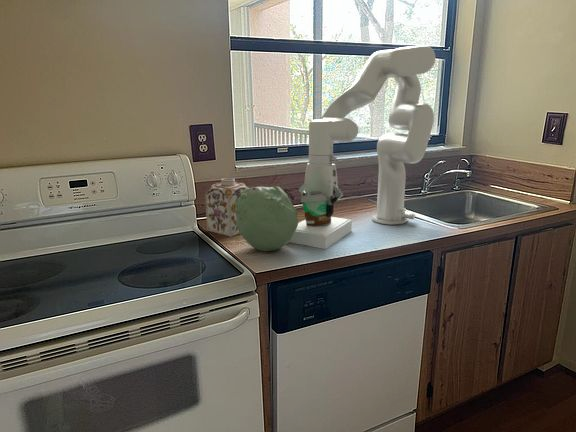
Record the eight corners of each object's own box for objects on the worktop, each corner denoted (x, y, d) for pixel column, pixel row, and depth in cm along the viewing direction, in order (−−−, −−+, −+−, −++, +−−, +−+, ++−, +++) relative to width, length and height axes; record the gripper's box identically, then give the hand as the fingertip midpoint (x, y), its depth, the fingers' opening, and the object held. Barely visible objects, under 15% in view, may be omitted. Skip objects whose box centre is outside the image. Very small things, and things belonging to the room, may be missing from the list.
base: (351, 231, 154) (351, 219, 153) (325, 248, 138) (325, 235, 137) (314, 225, 161) (315, 213, 160) (286, 241, 145) (285, 228, 143)
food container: (317, 227, 141) (314, 196, 139) (303, 226, 145) (300, 195, 143) (342, 220, 149) (340, 190, 147) (328, 219, 153) (326, 189, 152)
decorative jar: (206, 231, 156) (203, 179, 151) (229, 223, 165) (227, 174, 160) (231, 237, 149) (228, 184, 144) (254, 228, 158) (253, 178, 153)
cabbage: (305, 254, 133) (305, 188, 127) (241, 262, 128) (239, 193, 122) (289, 238, 147) (289, 178, 142) (232, 244, 142) (229, 182, 137)
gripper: (350, 159, 141) (349, 215, 146) (302, 156, 150) (302, 208, 155) (341, 163, 135) (339, 221, 140) (291, 159, 144) (291, 214, 149)
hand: (320, 214), depth 147 cm, fingers closed on food container, 6 cm apart
